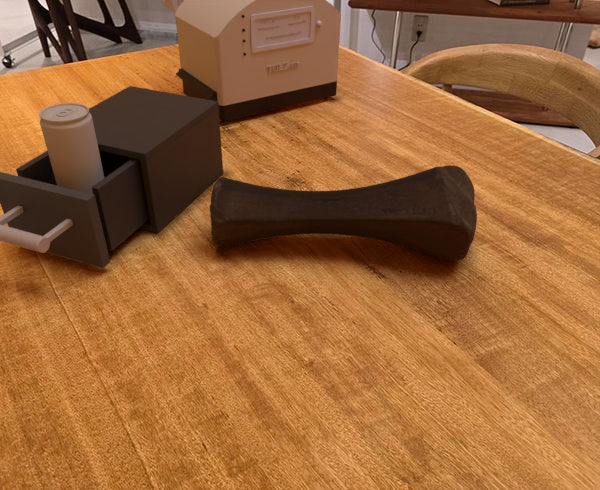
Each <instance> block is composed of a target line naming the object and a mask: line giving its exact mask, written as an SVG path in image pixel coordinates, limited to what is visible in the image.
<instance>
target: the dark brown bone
mask: <svg viewBox="0 0 600 490" xmlns="http://www.w3.org/2000/svg"><path fill="white" fill-rule="evenodd" d="M475 197H476V196H475V187H474V184H473V181H472V180H471V178H470V177H469V176H468V173H467V172H466V171H465V169H463V168H462V167H459V166H457V165H453V164H452V165H444V166H442V165H441V166H435V167H432V168H431V167H430V168H429V169H426V170H423V171H420V172H417V173H414V174H410V175H407V176H404V177H400V178H397V179H393V180H389V181H385V182H380V183H377V184H372V185H371V184H370V185H367V186H361V187H357V188H356V187H355V188H347V189H336V190H296V189H286V188H285V189H284V188H276V187H271V186H263V185H259V184H253V183H249V182H244V181H240V180H237V179H232V178H229V177H223V176H220V177H219V178H218V179H217V180H216V181H215V182H214V184H213V187H212V190H211V195H210V205H209V211H210V212H209V216H210V226H211V228H210V229H211V231H210V232H211V233H210V234H211V241H212V244H213V245H215V246H218V247H230V246H237V245H241V244H245V243H249V242H254V241H259V240H264V239H269V238H270V239H271V238H275V237H277V238H278V237H285V236H295V235H316V234H317V235H339V236H351V237H360V238H366V239H371V240H372V239H373V240H377V241H383V242H386V243H391V244H394V245H399V246H402V247H406V248H409V249H412V250H415V251H417V252H421V253H424V254H426V255H430V256H433V257H435V258H438V259H441V260H444V261H447V262H456V261H457V262H458V261H462V260H464V259H466V258H467V256H468V253H469V250H470V247H471V245H472V243H473V242H474V239H475V234H476V230H477V222H478V213H477V207H476V205H475Z"/></svg>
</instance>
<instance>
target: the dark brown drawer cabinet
mask: <svg viewBox="0 0 600 490" xmlns="http://www.w3.org/2000/svg"><path fill="white" fill-rule="evenodd" d="M88 108H89V113H90V114H91V115H92V120H93V124H94V129H95V134H96V139H97V144H98V148H99V151H104V152H108V153H113V154H117V155H122V156H127V157H131V158H136V159H140V163H141V169H142V175H143V181H144V187H145V193H146V199H147V205H148V210H149V216H150V219H149V220H148V221H146V222H145V223H144V224H143V225H142V226H141V227H139V228H138V229H139V230H143V231H148V232H152V233H156V234H159V233H160V232H161V231H162V230H164V228H165V227H166V226H167V225H169V224H170V223H171V222H172V221H173V220H174V219H176V217H177V216H178V215H180V214H181V213H182V212H183V211H184V210H185V209H186V208H187V207H189V206H190V204H192V203H193V202H194V201H195V200H196V199H198V198H199V197H200V196H201V195H202V194H203V193H204V192H205V191H206V190H207V189H208V188H209V187H210V186H212V185H213V183H214V184H215V183H216V181H217V180H218V178H220V177H222V175H224V166H223V165H224V163H223V152H222V138H221V124H220V123H221V122H220V121H221V120H219V108H218V101H212V100H207V99H201V98H195V97H190V96H187V95H185V94H178V93H173V92H172V93H171V92H166V91H160V90H155V89H150V88H145V87H138V86H132V85H130V86H127V87H125V88H123V89H122V90H120V91H118V92H117V93H115V94H112V95H111V96H109V97H107V98H106V99H104V100H102V101H100V102H98V103H97V104H94V105H93V106H91V107H88Z"/></svg>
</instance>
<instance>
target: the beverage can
mask: <svg viewBox="0 0 600 490" xmlns="http://www.w3.org/2000/svg"><path fill="white" fill-rule="evenodd" d="M89 108H90V107H88V106H87V105H85V104H83V103H77V102H61V103H55V104H51V105H49V106H46V107H44V108H43V109H41V110H40V112H39V113H38V114H39V118H40V119H39V125H40V129H41V132H42V136H43V140H44V143H45V147H46V151H48V154H49V158H50V162H51V165H52V169H53V172H54V176H55V180H56V183H57V186H61V187H65V188H69V189H73V190H77V191H81V192H85V193H89V194H93V191H92V187H93V186H94V185H95V184H97V183H98V182H100V181H101V180H102V179H104V173H103V168H102V163H101V158H100V153H99V148H98V144H97V139H96V134H95V129H94V124H93V120H92V115H91V114H90V113H89Z"/></svg>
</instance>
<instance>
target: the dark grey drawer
mask: <svg viewBox="0 0 600 490" xmlns="http://www.w3.org/2000/svg"><path fill="white" fill-rule="evenodd" d="M99 153H100V158H101V163H102V168H103V173H104V179H102V180H101V181H100V182H98V183H97V184H95V185H94V186H93V187H92V191H93V194H89V193H85V192H81V191H77V190H73V189H69V188H65V187H61V186H57V183H56V180H55V176H54V172H53V169H52V165H51V162H50V158H49V154H48V151H47V150H46V151H43V152H42V153H41V154H39V155H37V156H36V157H33V158H31V159H30V160H28V161H27V162H26V163H23V164H22V165H21V166H18V167H17V168H16V169H15V172H16V175H15V174H11V173H8V172H4V171H3V172H2V171H0V206H1V210H2V212H3V215H1V216H0V242H2V243H6V244H9V245H13V246H17V247H19V248H22V249H26V250H30V251H33V252H37V253H41V254H45V253H48V254H51V255H55V256H59V257H62V258H66V259H69V260H73V261H76V262H80V263H83V264H87V265H89V266H94V267H97V268H100V269H104V268H106V267H107V266H108V265H109V264H110V263H111V258H110V255H109V252H113V251H115V249H116V248H118V247H119V246H120V245H121V244H122V243H123V242H125V241H126V240H128V238H129V237H130V236H131V235H133V234H134V233H135V232H136V231H137V230H138V229H139V227H141V226H142V225H143V224H144V223H145V222H146V221H148V220H149V219H150V216H149V210H148V205H147V199H146V193H145V187H144V181H143V175H142V169H141V163H140V159H136V158H131V157H127V156H122V155H117V154H113V153H108V152H104V151H99ZM6 224H7V225H6Z"/></svg>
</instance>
